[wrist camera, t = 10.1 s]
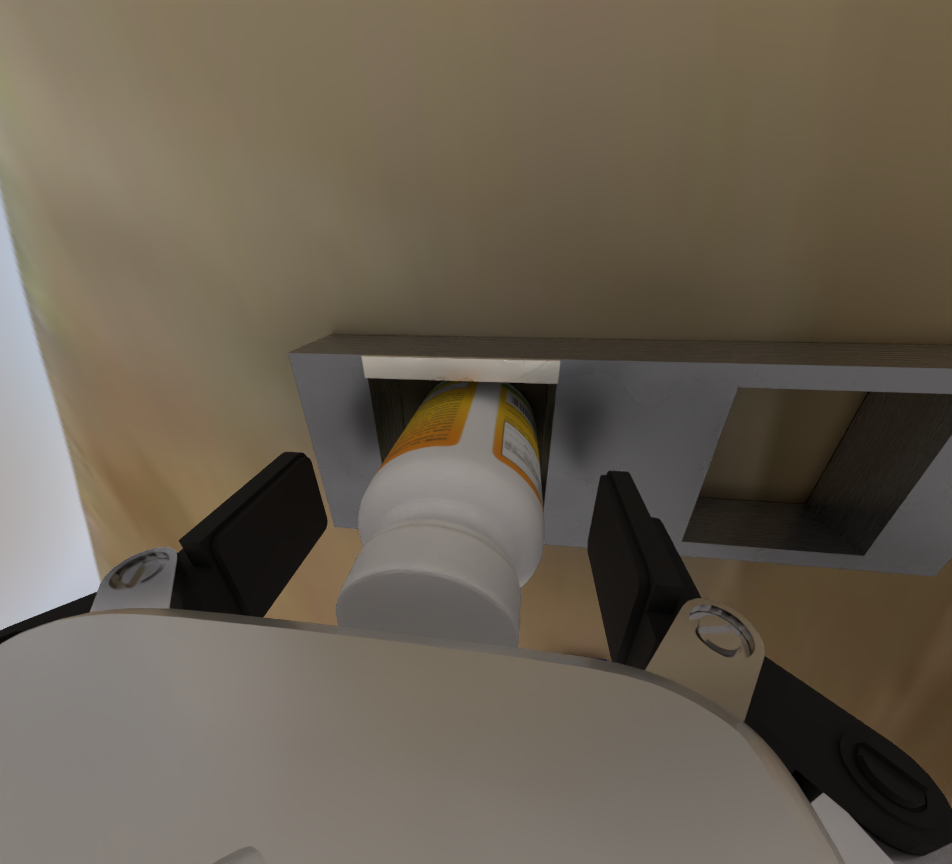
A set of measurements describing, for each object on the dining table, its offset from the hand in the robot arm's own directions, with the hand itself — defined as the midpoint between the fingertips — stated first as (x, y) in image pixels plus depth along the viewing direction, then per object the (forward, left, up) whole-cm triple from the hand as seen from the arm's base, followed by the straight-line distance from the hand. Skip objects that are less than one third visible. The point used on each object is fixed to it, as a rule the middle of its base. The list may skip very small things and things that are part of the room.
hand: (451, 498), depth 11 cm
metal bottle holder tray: (-6, 0, -5) cm, 8 cm away
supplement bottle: (0, 0, -6) cm, 6 cm away
